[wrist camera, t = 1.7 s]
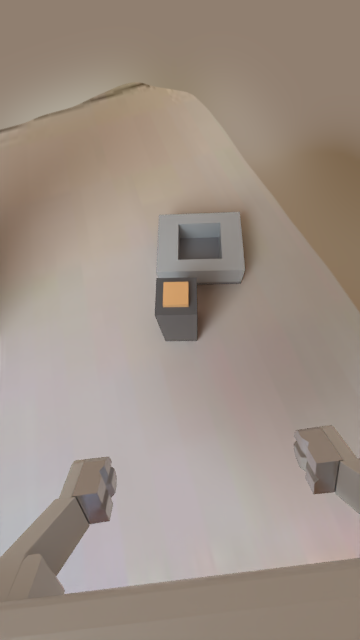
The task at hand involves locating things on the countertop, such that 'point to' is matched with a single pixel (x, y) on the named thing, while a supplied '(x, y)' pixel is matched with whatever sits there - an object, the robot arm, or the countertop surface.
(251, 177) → the countertop surface
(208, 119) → the countertop surface
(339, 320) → the countertop surface
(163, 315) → the plug
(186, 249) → the socket plate
